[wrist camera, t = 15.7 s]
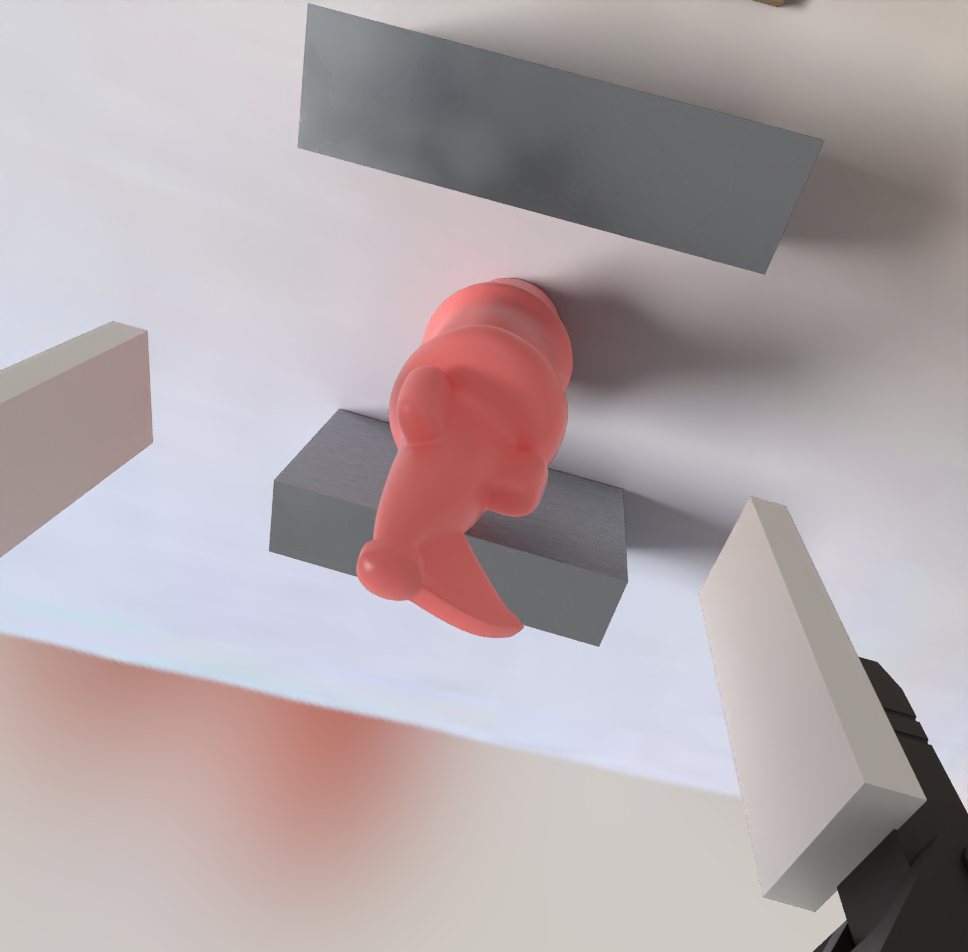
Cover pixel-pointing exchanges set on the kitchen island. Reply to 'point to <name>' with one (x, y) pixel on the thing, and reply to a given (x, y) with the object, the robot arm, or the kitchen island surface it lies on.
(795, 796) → the robot arm
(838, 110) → the kitchen island surface
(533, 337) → the figurine
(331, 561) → the grey blocks
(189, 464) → the kitchen island surface
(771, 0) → the pad
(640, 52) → the kitchen island surface
